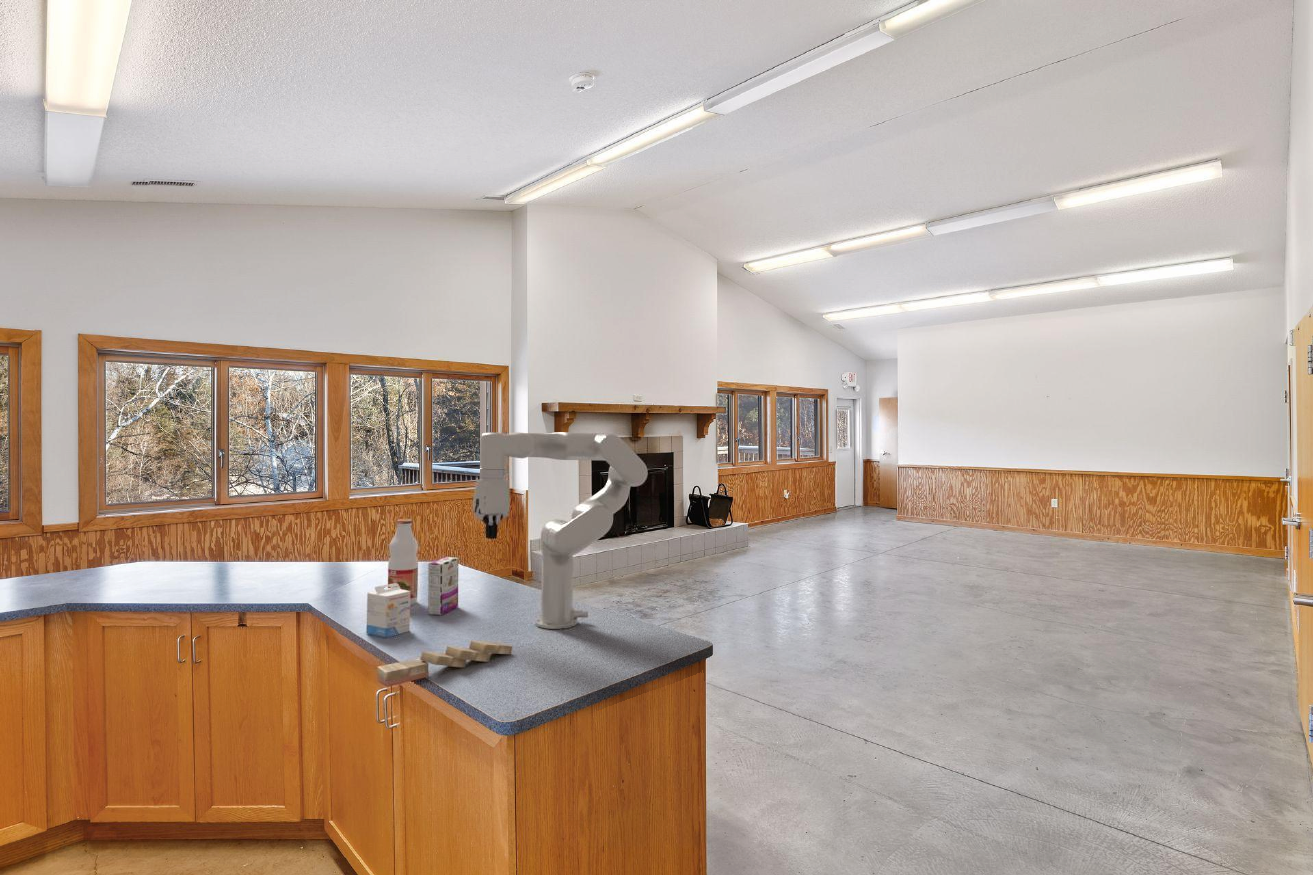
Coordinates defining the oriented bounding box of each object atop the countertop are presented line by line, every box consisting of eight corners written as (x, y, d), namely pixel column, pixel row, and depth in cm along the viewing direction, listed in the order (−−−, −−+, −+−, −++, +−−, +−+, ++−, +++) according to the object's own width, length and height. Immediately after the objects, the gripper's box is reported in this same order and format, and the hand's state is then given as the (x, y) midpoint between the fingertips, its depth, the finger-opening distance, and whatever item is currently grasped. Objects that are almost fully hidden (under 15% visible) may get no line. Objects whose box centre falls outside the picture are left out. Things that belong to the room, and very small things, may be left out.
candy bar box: (444, 605, 223) (445, 556, 223) (458, 607, 222) (459, 557, 222) (426, 614, 212) (427, 562, 212) (441, 615, 211) (442, 563, 211)
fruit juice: (423, 602, 227) (425, 519, 227) (401, 608, 219) (403, 522, 219) (403, 598, 231) (405, 517, 231) (380, 604, 223) (382, 520, 223)
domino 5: (499, 642, 180) (470, 640, 172) (512, 646, 177) (484, 644, 169) (497, 650, 179) (469, 648, 171) (510, 654, 176) (482, 652, 168)
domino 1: (420, 658, 162) (377, 666, 156) (428, 663, 158) (385, 672, 152) (419, 666, 162) (377, 675, 156) (428, 671, 158) (385, 681, 152)
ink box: (385, 638, 187) (386, 590, 187) (365, 633, 191) (366, 586, 191) (410, 630, 195) (411, 584, 195) (390, 626, 199) (391, 580, 199)
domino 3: (452, 654, 169) (422, 651, 160) (466, 659, 166) (437, 655, 158) (450, 662, 168) (420, 659, 160) (464, 667, 165) (434, 664, 157)
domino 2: (418, 665, 163) (377, 675, 155) (428, 671, 159) (387, 681, 152) (418, 674, 163) (377, 684, 155) (428, 679, 159) (387, 690, 152)
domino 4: (477, 649, 173) (447, 645, 166) (490, 653, 170) (460, 650, 163) (475, 657, 173) (444, 654, 165) (488, 661, 170) (457, 658, 162)
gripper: (506, 473, 204) (504, 534, 204) (463, 474, 192) (461, 539, 192) (522, 475, 199) (520, 537, 199) (478, 476, 187) (476, 542, 187)
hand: (491, 538), depth 195 cm, fingers closed
